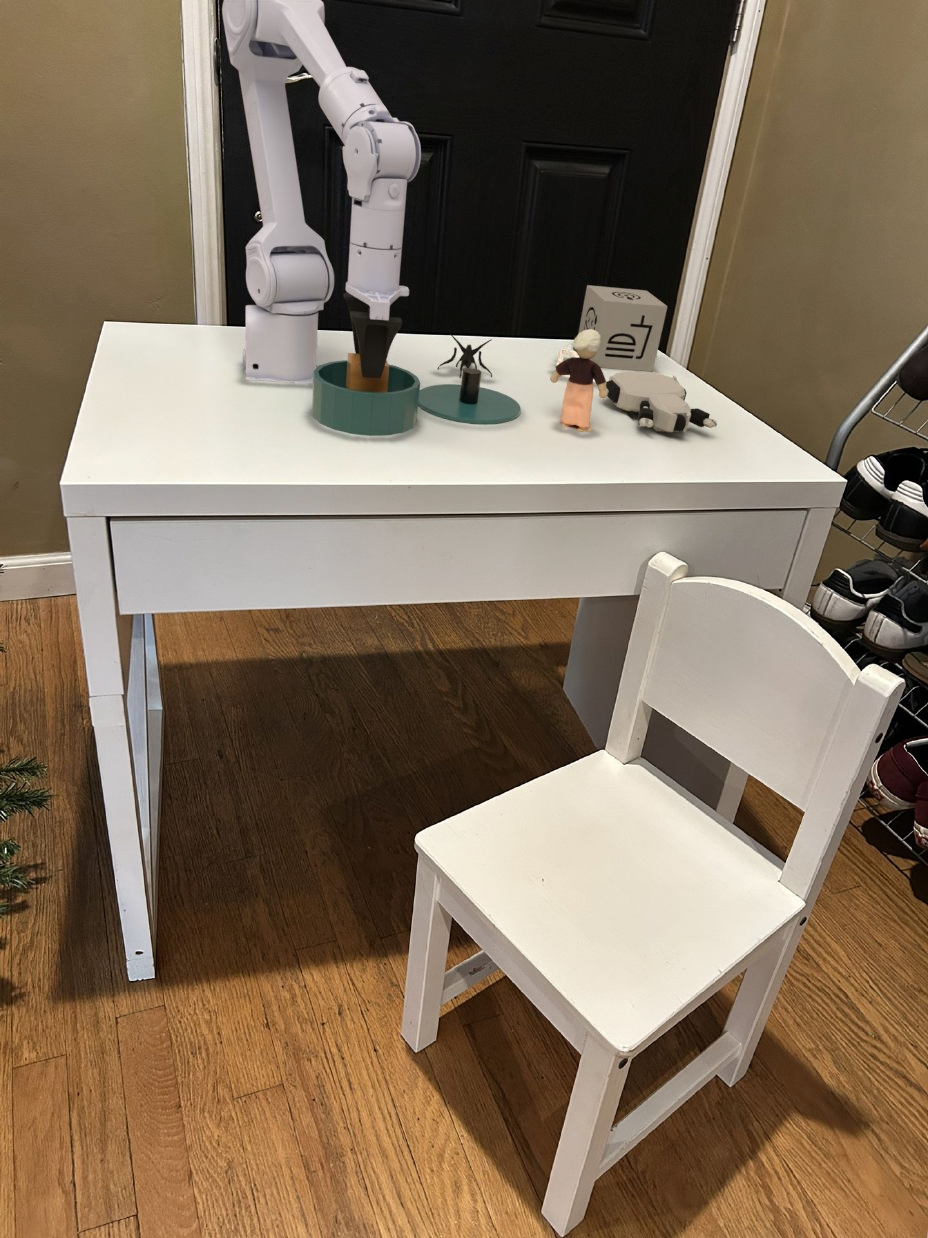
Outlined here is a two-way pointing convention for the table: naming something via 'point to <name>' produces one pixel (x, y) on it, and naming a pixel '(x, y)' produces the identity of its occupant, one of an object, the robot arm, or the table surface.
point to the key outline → (570, 353)
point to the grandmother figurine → (581, 381)
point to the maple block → (364, 383)
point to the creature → (467, 356)
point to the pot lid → (468, 401)
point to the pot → (364, 402)
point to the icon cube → (624, 326)
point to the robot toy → (655, 401)
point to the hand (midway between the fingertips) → (368, 366)
